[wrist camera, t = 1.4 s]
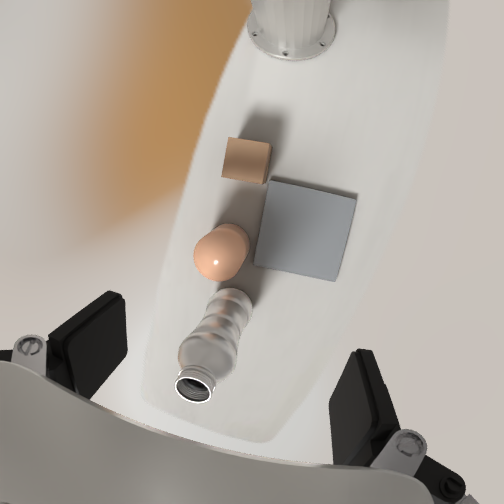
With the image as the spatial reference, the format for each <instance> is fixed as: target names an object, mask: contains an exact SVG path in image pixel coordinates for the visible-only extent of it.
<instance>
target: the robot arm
mask: <svg viewBox="0 0 504 504" xmlns="http://www.w3.org/2000/svg"><path fill="white" fill-rule="evenodd" d="M251 2H252V6H253V10H252V12H251V13H250V15H249V18H248V23H247V27H248V33H249V36H250V38H251V40H252V41H253V43H254V44H255V45H256V46H257V48H259V49H260V50H261V51H263V52H264V53H266V54H268V55H270V56H272V57H275V58H278V59H282V60H288V61H299V60H306V59H310V58H313V57H316V56H318V55H320V54H321V53H323V52H324V51H326V49H327V48H328V47H329V46H330V45H331V43H332V41H333V39H334V36H335V23H334V20H333V17H332V16H331V14H330V13H329V7H330V2H331V0H251ZM255 35H257V36H255ZM321 45H323V46H321ZM285 54H287V56H284V55H285ZM48 337H49V340H47V341H45V340H44V339H43V338H42V337H40V336H37V335H26V336H23V337H21V338H19V339H18V340H17V341H16V342H15V344H14V348H13V350H0V504H479V503H478V502H477V501H476V500H475V499H474V498H473V497H472V496H471V495H470V494H469V495H468V496H466V495H465V490H466V485H465V482H464V480H463V479H462V477H461V476H459V475H458V474H457V473H455V472H453V471H451V470H450V469H448V468H446V467H445V466H443V465H441V464H440V463H438V462H436V461H435V460H433V459H431V458H430V457H428V456H427V455H425V454H426V451H427V443H426V441H425V439H424V438H423V437H422V435H420V434H419V433H417V432H416V431H413V430H409V429H402V430H401V428H400V425H399V422H398V419H397V416H396V413H395V410H394V407H393V404H392V401H391V398H390V395H389V392H388V389H387V387H386V385H385V384H384V381H383V379H382V376H381V373H380V370H379V368H378V365H377V362H376V360H375V357H374V354H373V352H372V351H371V350H366V349H357V350H356V352H352V353H351V355H350V357H349V359H348V362H347V364H346V366H345V369H344V371H343V373H342V375H341V377H340V379H339V381H338V383H337V386H336V388H335V390H334V392H333V394H332V396H331V398H330V401H329V415H330V425H331V437H332V449H333V465H331V464H317V463H307V462H298V461H289V460H281V459H274V458H268V457H262V456H256V455H251V454H246V453H241V452H236V451H231V450H227V449H222V448H219V447H215V446H210V445H207V444H203V443H200V442H196V441H193V440H189V439H186V438H183V437H179V436H176V435H173V434H170V433H167V432H164V431H161V430H159V429H156V428H153V427H150V426H148V425H145V424H142V423H140V422H137V421H135V420H132V419H130V418H128V417H125V416H123V415H121V414H118V413H116V412H114V411H112V410H109V409H107V408H105V407H103V406H101V405H99V404H97V403H95V402H92V401H90V399H91V397H92V396H93V395H94V394H95V393H96V391H97V390H98V389H99V388H100V386H101V385H102V384H103V383H104V382H105V380H106V379H107V378H108V377H109V375H111V373H112V372H113V371H114V370H115V369H116V367H117V366H118V365H119V364H120V363H121V362H122V360H123V359H124V358H125V357H126V355H127V351H128V348H127V334H126V312H125V300H124V299H123V298H122V295H121V294H119V293H116V292H113V291H107V292H105V293H104V294H103V295H101V296H100V297H99V298H97V299H96V300H94V301H93V302H92V303H90V304H89V305H88V306H86V307H85V308H83V309H82V310H81V311H79V312H78V313H76V314H75V315H74V316H72V317H71V318H70V319H69V320H67V321H66V322H65V323H63V324H62V325H60V326H59V327H58V328H57V329H55V330H54V331H53V332H51V333H50V334H49V335H48Z"/></svg>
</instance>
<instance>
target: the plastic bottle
mask: <svg viewBox="0 0 504 504" xmlns="http://www.w3.org/2000/svg"><path fill="white" fill-rule="evenodd" d="M252 312H253V311H252V303H251V300H250V298H249V297H248V296H247V295H246V294H245V293H244V292H243V291H241V290H239V289H236V288H224V289H221V290H219V291H218V292H216V293H215V294H214V295H213V296H212V297H211V298H210V300H209V302H208V304H207V308H206V312H205V315H204V317H203V319H202V321H201V322H200V323H199V325H198V326H197V327H196V329H195V330H194V331H193V332H192V333H191V334H190V335H189V336H188V337H187V338H186V339H185V340H184V341H183V342H182V343H181V345H180V347H179V351H178V363H179V366H180V368H181V370H180V372H179V374H178V378H177V380H176V382H175V389H176V391H177V393H178V394H179V395H180V396H181V397H182V398H184V399H186V400H188V401H190V402H194V403H203V402H206V401H208V400H209V399H210V397H211V396H212V393H213V391H214V390H215V387H216V384H218V383H220V382H222V381H224V380H226V379H227V378H228V377H229V376H230V375H231V374H232V372H233V371H234V369H235V366H236V361H237V349H238V344H239V339H240V336H241V334H242V332H243V330H244V328H245V327H246V326H247V324H248V323H249V321H250V319H251V317H252Z"/></svg>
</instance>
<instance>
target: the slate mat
mask: <svg viewBox="0 0 504 504" xmlns="http://www.w3.org/2000/svg"><path fill="white" fill-rule="evenodd" d="M355 204H356V199H352V198H348V197H344V196H340V195H336V194H332V193H328V192H323V191H319V190H315V189H310V188H306V187H301V186H296V185H292V184H287V183H282V182H277V181H272V180H269V185H268V190H267V195H266V201H265V206H264V211H263V216H262V221H261V227H260V232H259V237H258V242H257V247H256V253H255V258H254V263H253V265H256V266H261V267H266V268H270V269H275V270H280V271H284V272H289V273H294V274H298V275H303V276H308V277H313V278H317V279H322V280H327V281H332V282H335V281H336V277H337V274H338V271H339V267H340V263H341V260H342V256H343V253H344V249H345V245H346V241H347V237H348V233H349V229H350V225H351V221H352V217H353V213H354V209H355Z"/></svg>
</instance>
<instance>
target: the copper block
mask: <svg viewBox="0 0 504 504" xmlns="http://www.w3.org/2000/svg"><path fill="white" fill-rule="evenodd" d="M271 151H272V146H271V145H270V144H269V143H264V142H258V141H252V140H245V139H239V138H232V137H228V143H227V148H226V154H225V159H224V165H223V171H222V176H221V177H224V178H230V179H236V180H242V181H247V182H253V183H258V184H264V183H266V178H267V173H268V167H269V162H270V157H271Z"/></svg>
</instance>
